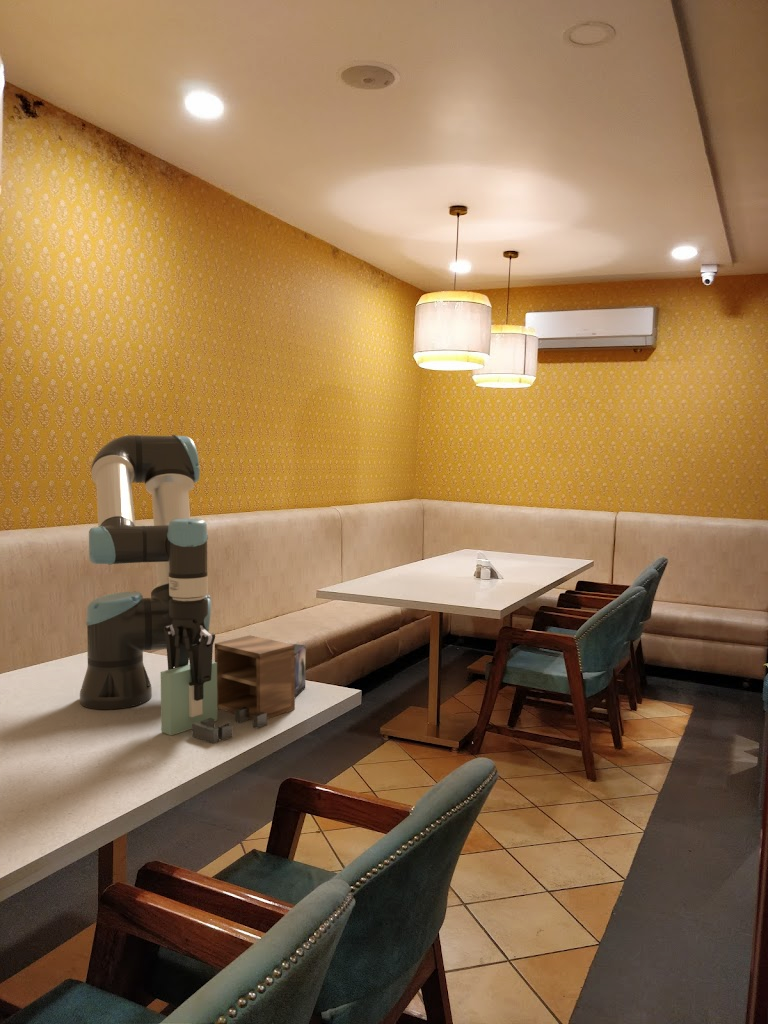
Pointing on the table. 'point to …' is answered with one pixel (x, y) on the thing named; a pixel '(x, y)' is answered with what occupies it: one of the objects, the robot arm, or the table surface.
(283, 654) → the cabinet
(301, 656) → the small box
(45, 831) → the table surface
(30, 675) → the table surface
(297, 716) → the table surface
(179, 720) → the door
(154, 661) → the table surface
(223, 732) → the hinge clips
